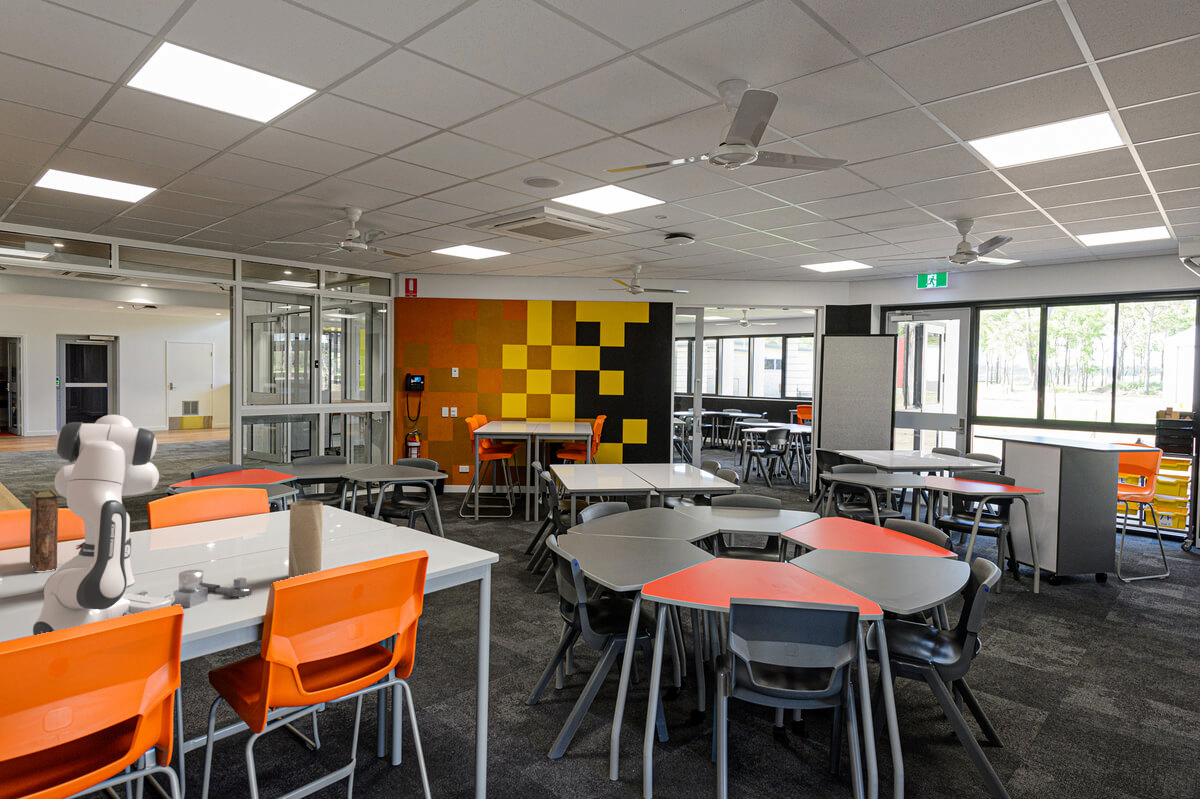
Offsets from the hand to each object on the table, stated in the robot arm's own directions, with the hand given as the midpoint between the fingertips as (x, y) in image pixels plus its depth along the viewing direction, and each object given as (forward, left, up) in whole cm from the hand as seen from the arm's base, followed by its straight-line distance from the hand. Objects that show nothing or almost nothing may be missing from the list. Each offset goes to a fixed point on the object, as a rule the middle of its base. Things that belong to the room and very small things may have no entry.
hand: (159, 596), depth 177 cm
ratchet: (+7, +19, -5) cm, 21 cm away
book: (-66, +40, -5) cm, 77 cm away
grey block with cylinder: (+3, +10, -5) cm, 11 cm away
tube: (+24, +38, -5) cm, 45 cm away
